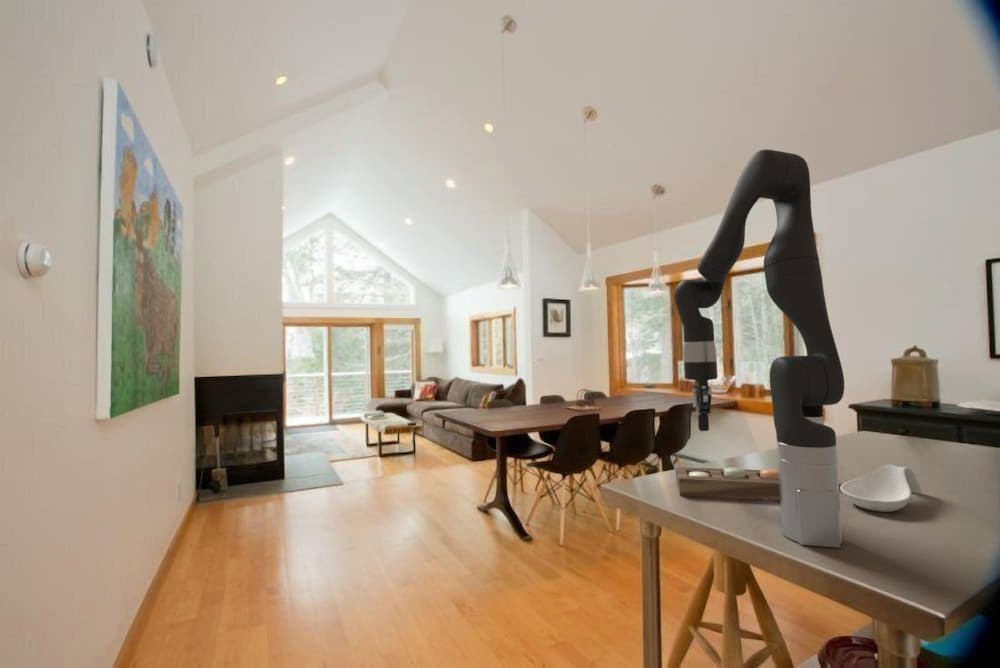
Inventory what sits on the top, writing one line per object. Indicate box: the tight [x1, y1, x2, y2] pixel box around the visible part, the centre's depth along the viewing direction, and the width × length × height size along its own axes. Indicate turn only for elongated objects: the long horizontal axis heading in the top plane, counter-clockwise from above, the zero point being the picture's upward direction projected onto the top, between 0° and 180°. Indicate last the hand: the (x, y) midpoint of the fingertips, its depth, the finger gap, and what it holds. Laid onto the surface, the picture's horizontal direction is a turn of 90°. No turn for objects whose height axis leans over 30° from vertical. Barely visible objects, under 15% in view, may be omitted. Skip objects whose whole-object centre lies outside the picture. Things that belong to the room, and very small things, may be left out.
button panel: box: [675, 466, 780, 501], centre depth 113 cm, size 11×26×4 cm, turn 73°
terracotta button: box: [759, 468, 779, 480], centre depth 110 cm, size 5×5×3 cm
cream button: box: [689, 472, 709, 477], centre depth 115 cm, size 5×5×3 cm
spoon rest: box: [839, 464, 922, 513], centre depth 102 cm, size 24×12×7 cm, turn 122°
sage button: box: [723, 466, 746, 478], centre depth 113 cm, size 5×5×3 cm
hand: (703, 430), depth 115 cm, fingers closed
